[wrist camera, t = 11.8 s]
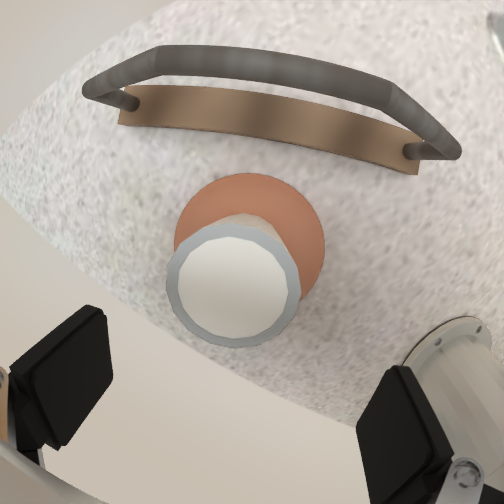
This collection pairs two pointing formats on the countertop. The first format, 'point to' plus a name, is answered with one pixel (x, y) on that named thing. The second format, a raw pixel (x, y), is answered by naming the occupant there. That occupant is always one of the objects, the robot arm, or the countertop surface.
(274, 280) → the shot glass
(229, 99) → the arched handle
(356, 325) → the countertop surface
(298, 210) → the coaster
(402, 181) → the countertop surface
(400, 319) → the countertop surface
